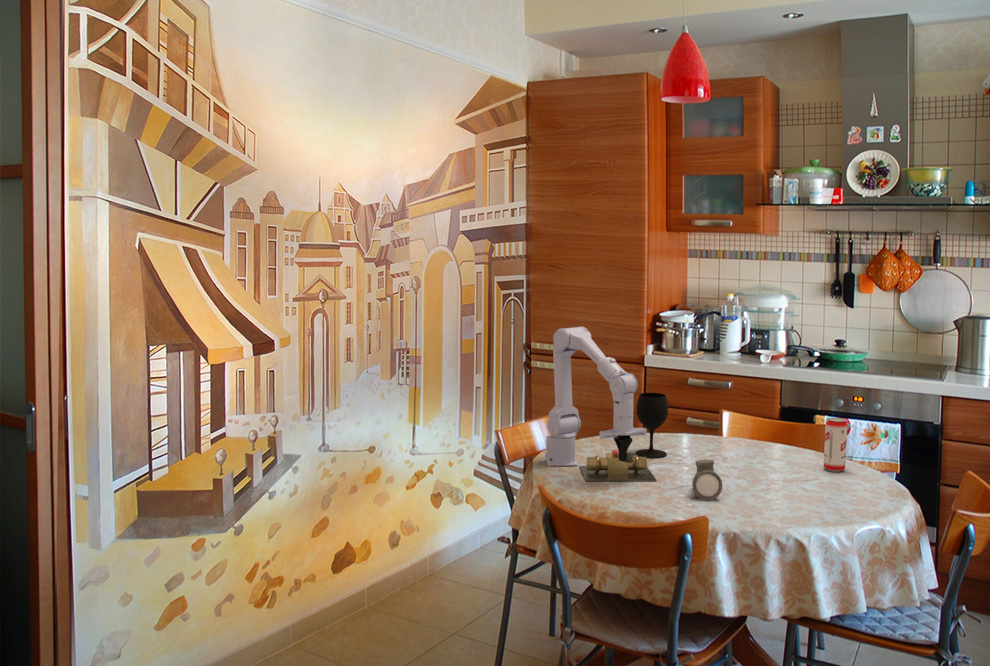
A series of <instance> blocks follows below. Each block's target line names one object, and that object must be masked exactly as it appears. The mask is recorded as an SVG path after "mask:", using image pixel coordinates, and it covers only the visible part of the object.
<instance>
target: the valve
mask: <svg viewBox="0 0 990 666" xmlns="http://www.w3.org/2000/svg"><path fill="white" fill-rule="evenodd" d="M585 460H586V464H585V465H579V470H580V471H581V474H582V477H583V478H584V481H585V483H623V482H627V483H630V482H633V483H634V482H636V483H637V482H638V483H639V482H641V483H643V482H644V483H645V482H646V483H649V482H650V483H651V482H653V483H654V482H657V481H658V480H657V479H656V477H655V475H654V474H653V473H652V472H651V470H650V469H649V467H648V458H646V457H640V456H638V455H636V454H635V455H634V454H633V462H632V463H626V462H625V461H624V462H622V461H620V460H619V457H618V456H615V455H612V452H605V456H600V455H594V456H590V457H589V456H588V457H586V459H585Z"/></svg>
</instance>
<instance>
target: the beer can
mask: <svg viewBox="0 0 990 666" xmlns="http://www.w3.org/2000/svg"><path fill="white" fill-rule="evenodd" d="M824 428H825V429H824V450H823V451H824V452H823V468H824V469H825V470H826V471H827V470H828V471H827V472H831V471H832V473H841V472H840V471H842V472H843V471H844V470H846V464H847V463H846V462H847V461H846V460H847V459H846V458H847V437H848V436H847V435H848V424H847V422H846V419H844V418H840V417H829V418H827V421H826V422H825V427H824Z"/></svg>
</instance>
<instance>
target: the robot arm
mask: <svg viewBox="0 0 990 666" xmlns="http://www.w3.org/2000/svg"><path fill="white" fill-rule="evenodd" d="M552 339H553V351H552V352H553V353H552V354H553V355H552V357H553V376H554V377H553V378H554V401H555V403H554V406H553V408H551V410H550V411H549V412H548V420H547V425H546V426H547V427H546V428H547V431H548V433H549V434H550V435H546V438H545V453H544V454H545V455H544V457H545V462H546V465H547V466H548V467H552V466H553V467H555V466H557V467H561V466H563V467H565V466H566V467H567V466H569V467H572V466H574V467H575V466H577V467H578V461H577V460H576V436H577V435H578V432H579V431H580V430H581V428H582V427H581V426H582V421H581V419H580V414H579V410H578V408H577V407H575V406H574V405H573V386H572V385H573V383H572V359H571V358H572V355H573V354H575V353H576V351H578V350H581V352H583V353H584V354H585V355H586V356H587V357H589V358H590V359H591V360H592V361H593V362H594V363H595V364H596V365H597V366H596V370H597V371H598V373H599V374H600V375H601V376H602V377H603V378H604V379H605V381H607V383H608V385H609V390H610V392H611V395H612V400H613V420H612V421H613V422H612V423H613V425H612V426H613V428H612V429H611V428H610V429H607V430H601V431H599V436H598V437H599V439H601V440H606V439H612V438H613V441H614V443H615V445H616V447H617V449H618V450H619V460H620V461H622V462H624V461H626V453H628V450H629V447H631V444H632V443H633V437H635V436H647V428H646V427H634V394H635V393H636V392H637V390H638V388H639V383H638V379H637V378H636V376H635V374H633V373H628V372H626V371H625V369H623V368H622V367H621V365H619V363H617V360H616V359H615V358H614V357H610V356H608V357H607V356H606V355H605V354H604V353H603V351H602V350H601V349H600V348H599V346H598V344H597V343H596V342H595V341H594V340H593V339H592V334H591V332H590V331H589V330H588V328H586V327H584V326H578V327H577V326H576V327H567V328H559V329H557V330H556V331H555V332H554V334H553V336H552Z"/></svg>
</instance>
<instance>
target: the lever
mask: <svg viewBox="0 0 990 666" xmlns="http://www.w3.org/2000/svg"><path fill="white" fill-rule="evenodd" d="M611 453H612V455H615V456H618V457H619V450H618V448H617V449H612V450H611ZM633 457H634V453H632V452H627V453H626V461H625V462H626V463H632V462H633Z"/></svg>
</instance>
